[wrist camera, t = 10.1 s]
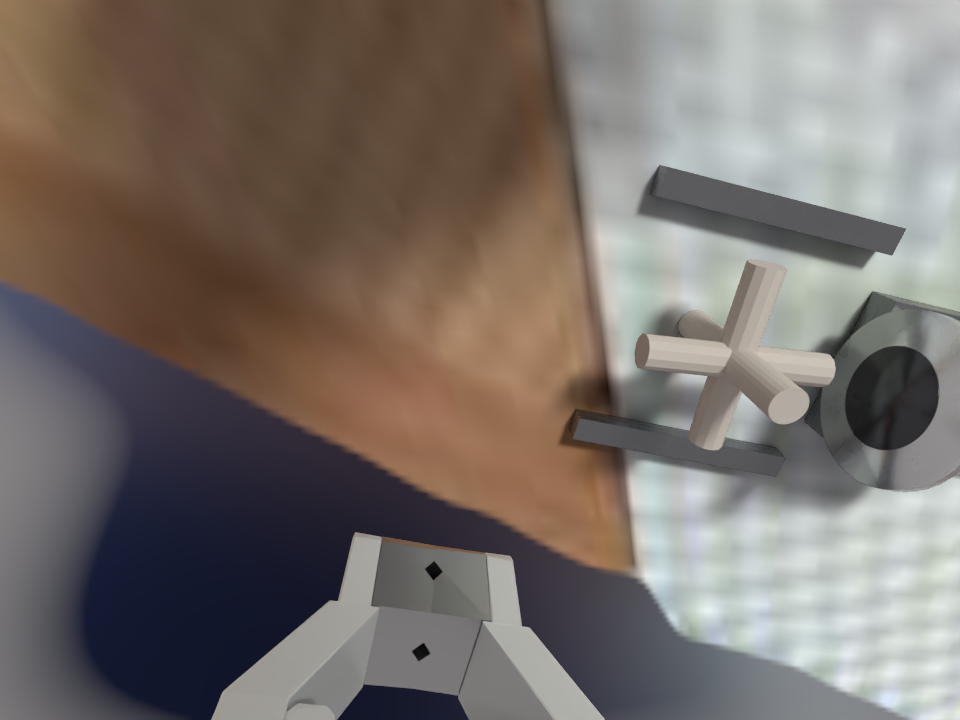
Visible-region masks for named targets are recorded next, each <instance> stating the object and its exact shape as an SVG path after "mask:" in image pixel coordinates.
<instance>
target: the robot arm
mask: <svg viewBox="0 0 960 720" xmlns="http://www.w3.org/2000/svg"><path fill="white" fill-rule="evenodd" d="M363 684H367V685H378V686H390V687H403V688H412V689H419V690H426V691H432V692H439V693H447V694H453V695H459V697H458V699H459V701H460V703H461V704H462V706H463V708H464V710H465V712H466V714H467V716H468V718H469V720H605V719H604V718H603V717H602V716H601V714H600V713H599V712H598V711H597V709H596V708H595V707H594V706H593V705H592V704H591V702H590V701H589V700H588V698H587V697H586V696H585V695H584V694H583V692H582V691H581V690H580V689H579V688H578V686H577V685H576V684H575V683H574V681H573V680H572V679H571V678H570V676H569V675H568V674H567V673H566V672H565V670H564V669H563V668H562V667H561V666H560V664H559V663H558V662H557V661H556V659H555V658H554V657H553V656H552V654H551V653H550V652H549V651H548V650H547V648H546V647H545V646H544V645H543V643H542V642H541V641H540V640H539V639H538V637H537V636H536V635H535V634H534V633H533V631H532V630H531V629H530V628H528V627H522V624H521V617H520V610H519V603H518V596H517V588H516V581H515V573H514V567H513V560H512V558H511V557H510V556H506V555H499V554H490V553H481V552H474V551H467V550H460V549H453V548H447V547H440V546H432V545H427V544H421V543H416V542H410V541H404V540H399V539H393V538H387V537H378V536H373V535H367V534H362V533H355V534H354V537H353V540H352V544H351V548H350V552H349V557H348V561H347V565H346V569H345V574H344V578H343V583H342V587H341V591H340V595H339V599H338V601H329V602H327V603H326V604H325V605H324V606H323V607H322V608H320V609H319V610H318V611H317V612H316V613H315V614H313V615H312V616H311V617H310V618H309V619H308V620H306V621H305V622H304V623H303V624H301V625H300V626H299V627H298V628H297V629H296V630H294V631H293V632H292V633H291V634H290V635H289V636H287V637H286V638H285V639H284V640H283V641H281V642H280V643H279V644H278V645H277V646H276V647H275V648H273V649H272V650H271V651H270V652H269V653H267V654H266V655H265V656H264V657H263V658H261V659H260V660H259V661H258V662H257V663H256V664H254V665H253V666H252V667H251V668H250V669H249V670H247V671H246V672H245V673H244V674H243V675H242V676H240V677H239V678H238V679H237V680H236V681H234V682H233V683H232V684H231V685H230V686H229V687H227V688H226V689H225V690H224V691H223V692H222V695H221V697H220V700H219V702H218V705H217V707H216V710H215V712H214V715H213V717H212V719H211V720H337V719H338V717H339V716H340V715H341V713H342V712H343V711H344V710H345V709H346V707H347V706H348V705H349V703H350V702H351V701H352V700H353V699H354V697H355V696H356V695H357V694H358V692H359V691H360V690H361V688H362V687H363Z"/></svg>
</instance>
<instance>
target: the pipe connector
mask: <svg viewBox="0 0 960 720" xmlns="http://www.w3.org/2000/svg"><path fill="white" fill-rule="evenodd" d="M786 271H787V269H786V268H785V267H783V266H780V265H777V264H773V263H769V262H765V261H759V260H747V262H746V264H745V267H744V270H743V273H742V276H741V279H740V282H739V285H738V288H737V291H736V294H735V297H734V300H733V303H732V306H731V309H730V312H729V315H728V318H727V321H726V324H725V327H724V328H723V327H722V326H720V325H719V324H718V323H716V322H715V321H714V320H713V319H711V318H710V317H709V316H707V315H706V314H705V313H703V312H702V311H698V310H694V311H690V312H688V313H686V314H685V315H684V316H683V317H682V318H681V320H680V322H679V326H678V329H679V332H680V334H681V335H682V336H683V337H684V338H680V337H671V336H662V335H653V334H642V335H641V336H640V337H639V339H638V341H637V343H636V348H635V362H636V365H637V367H638V368H640V369H645V370H655V371H665V372H675V373H684V374H694V375H704V376H708V377H707V380H706V383H705V386H704V389H703V392H702V395H701V398H700V401H699V404H698V407H697V410H696V413H695V416H694V419H693V422H692V424H691V427H690V430H689V433H688V438H689V440H690V441H691V442H692V443H693V444H694V445H696V446H699V447H701V448H703V449H708V450H719V449H720V448H721V447H722V445H723V442H724V439H725V437H726V434H727V431H728V428H729V426H730V423H731V420H732V418H733V415H734V412H735V409H736V407H737V404H738V401H739V399H740V396H741V393H744V394H745V395H746V396H747V397H748V398H749V399H750V400H751V401H752V402H753V403H754V404H755V405H756V406H757V407H758V408H759V409H761V410H762V411H763V412H764V413H765V414H766V415H767V416H768V417H769V418H770V419H771V420H772V421H774V422H775V423H778V424H790V423H793V422H795V421H797V420H798V419H800V418H801V417H802V416H803V415H804V414H805V413H806V411H807V409H808V407H809V396H808V394H807V393H806V392H805V391H804V390H803V389H801V388H800V387H799V386H798V385H804V386H813V387H825V386H827V385H829V384H830V382H831V381H832V380H833V378H834V375H835V370H836V367H835V362H834V359H833V358H832V357H831V356H830V355H829V354H825V353H818V352H809V351H799V350H790V349H781V348H772V347H763V346H759V344H760V342H761V339H762V336H763V334H764V331H765V328H766V326H767V323H768V320H769V317H770V315H771V312H772V309H773V307H774V304H775V301H776V298H777V296H778V293H779V290H780V288H781V285H782V282H783V280H784V277H785V274H786Z"/></svg>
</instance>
